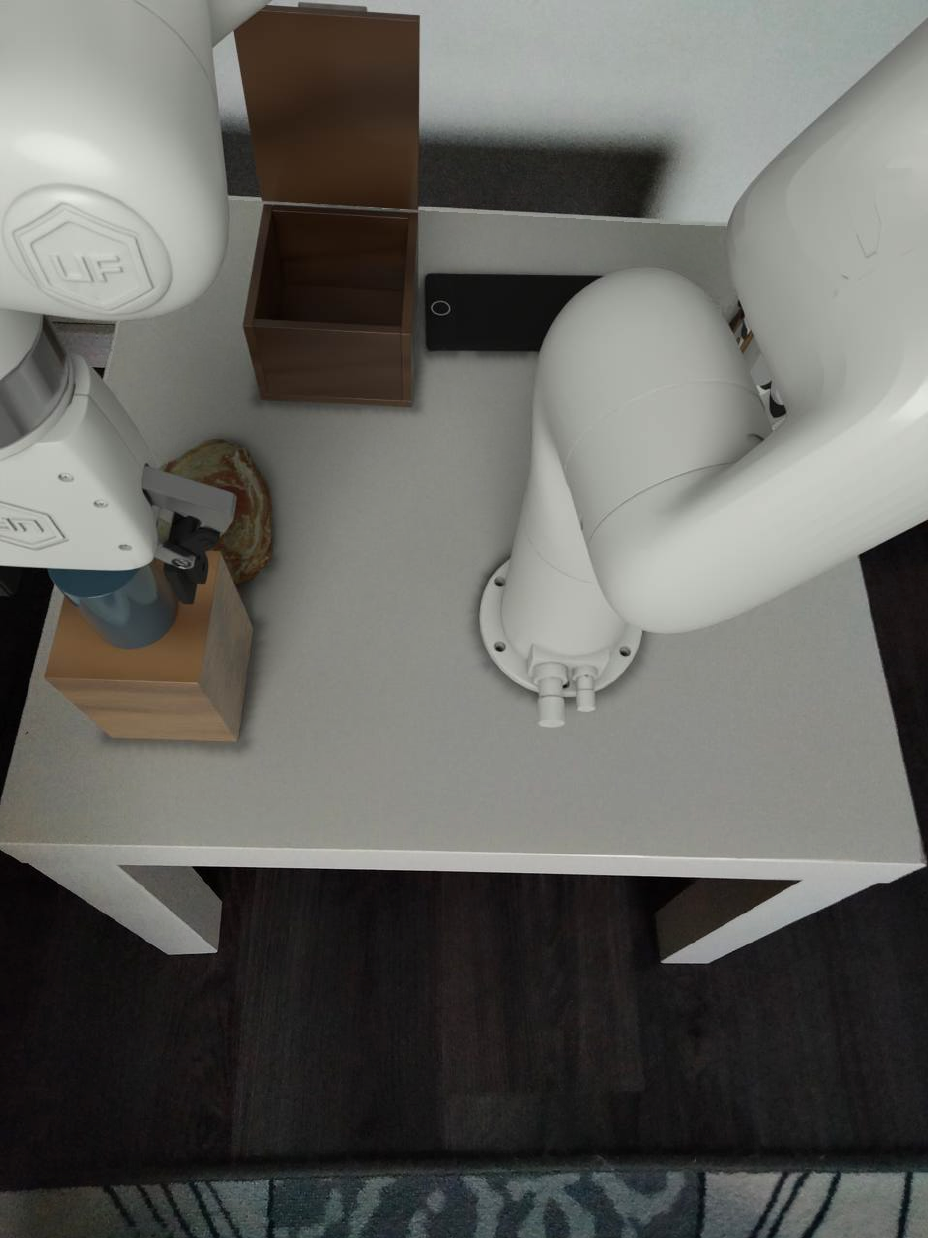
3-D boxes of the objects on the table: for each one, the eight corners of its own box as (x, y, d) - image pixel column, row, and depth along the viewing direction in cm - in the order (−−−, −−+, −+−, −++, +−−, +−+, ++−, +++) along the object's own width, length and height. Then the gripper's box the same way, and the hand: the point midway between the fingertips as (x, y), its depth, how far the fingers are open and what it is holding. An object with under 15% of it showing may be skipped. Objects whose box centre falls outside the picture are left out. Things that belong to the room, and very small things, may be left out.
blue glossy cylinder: (170, 651, 50) (134, 599, 44) (85, 648, 50) (37, 595, 44) (183, 577, 52) (151, 517, 46) (101, 573, 52) (58, 513, 46)
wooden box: (411, 407, 74) (411, 334, 66) (261, 399, 73) (242, 325, 65) (418, 291, 79) (418, 212, 71) (278, 284, 79) (263, 203, 71)
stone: (125, 488, 69) (112, 466, 66) (237, 438, 71) (229, 415, 68) (191, 616, 64) (179, 598, 61) (309, 559, 67) (303, 539, 64)
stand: (238, 742, 60) (198, 683, 49) (110, 737, 60) (43, 678, 49) (253, 628, 64) (220, 550, 53) (134, 623, 64) (76, 544, 53)
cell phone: (424, 280, 80) (424, 272, 79) (611, 282, 81) (613, 274, 80) (426, 352, 76) (426, 344, 75) (621, 353, 77) (624, 346, 76)
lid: (419, 20, 58) (422, -17, 61) (229, 7, 58) (240, -30, 60) (418, 210, 71) (420, 173, 73) (261, 201, 70) (269, 164, 73)
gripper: (-328, 431, 29) (-75, 631, 45) (174, 458, 30) (252, 645, 46) (-247, 274, 32) (-37, 511, 48) (205, 303, 33) (268, 527, 49)
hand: (104, 576), depth 47 cm, fingers open, 9 cm apart
